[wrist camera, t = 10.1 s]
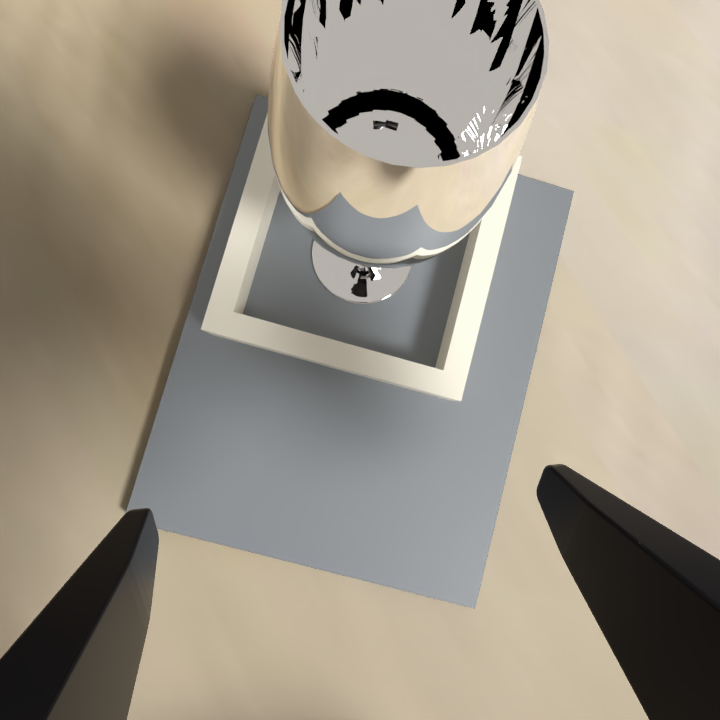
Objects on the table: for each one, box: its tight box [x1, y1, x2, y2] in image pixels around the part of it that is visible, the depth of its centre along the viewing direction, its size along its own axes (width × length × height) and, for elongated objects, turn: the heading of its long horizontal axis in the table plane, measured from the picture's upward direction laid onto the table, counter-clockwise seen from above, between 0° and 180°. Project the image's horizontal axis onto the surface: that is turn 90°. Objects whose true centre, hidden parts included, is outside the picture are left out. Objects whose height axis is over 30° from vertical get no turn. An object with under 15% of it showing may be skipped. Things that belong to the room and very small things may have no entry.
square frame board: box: [126, 95, 574, 609], centre depth 19 cm, size 15×19×2 cm
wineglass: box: [268, 0, 549, 304], centre depth 13 cm, size 6×6×12 cm
